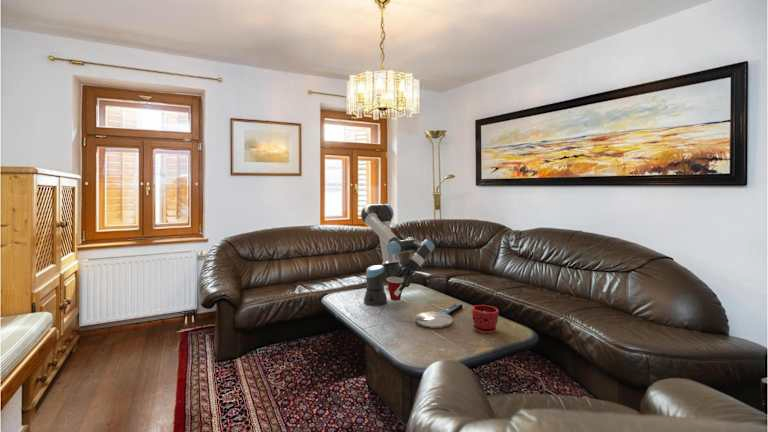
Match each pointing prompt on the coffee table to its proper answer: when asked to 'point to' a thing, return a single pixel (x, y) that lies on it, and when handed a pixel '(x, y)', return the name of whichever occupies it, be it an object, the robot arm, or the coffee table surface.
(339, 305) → the coffee table surface
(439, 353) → the coffee table surface
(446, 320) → the disc
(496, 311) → the plant pot
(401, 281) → the plastic cup
